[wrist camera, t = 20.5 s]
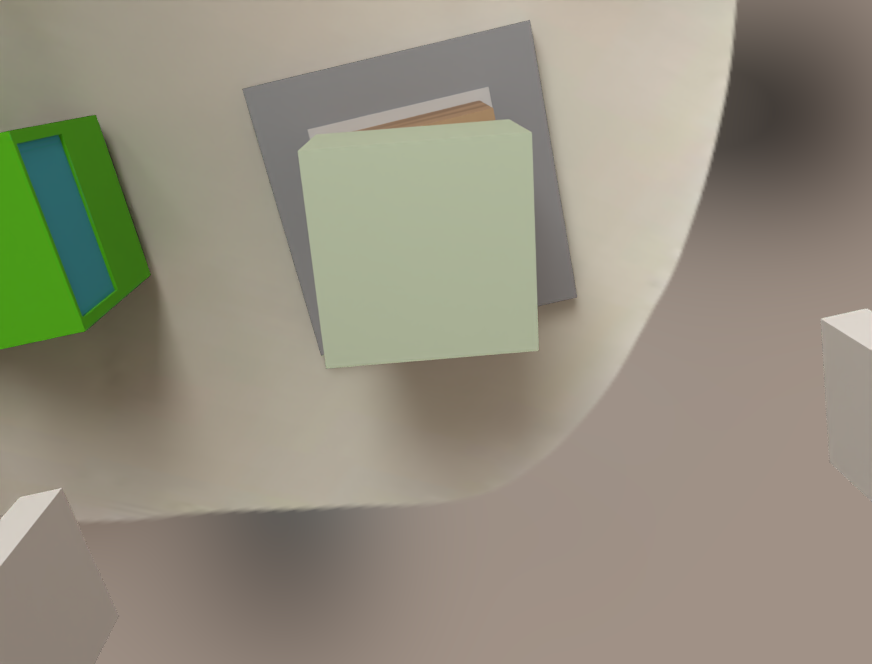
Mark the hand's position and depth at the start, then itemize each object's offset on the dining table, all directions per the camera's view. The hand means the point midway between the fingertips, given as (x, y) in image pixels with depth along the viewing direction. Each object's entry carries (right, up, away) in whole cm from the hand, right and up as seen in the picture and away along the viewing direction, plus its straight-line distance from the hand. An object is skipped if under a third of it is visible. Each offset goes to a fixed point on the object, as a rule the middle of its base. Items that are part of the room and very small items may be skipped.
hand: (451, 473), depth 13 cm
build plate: (-1, +10, +27) cm, 29 cm away
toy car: (-22, +8, +27) cm, 36 cm away
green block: (-1, +7, +20) cm, 21 cm away
